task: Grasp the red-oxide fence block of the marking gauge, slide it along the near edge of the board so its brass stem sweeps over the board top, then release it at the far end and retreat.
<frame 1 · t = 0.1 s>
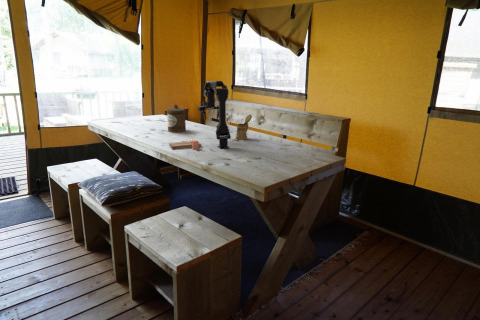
hand: (211, 119, 251), 15 cm above the table, fingers open, 9 cm apart
gauge: (195, 148, 226), on the table
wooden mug: (243, 138, 258), on the table
wooden container: (176, 130, 282), on the table
board: (185, 146, 231), on the table
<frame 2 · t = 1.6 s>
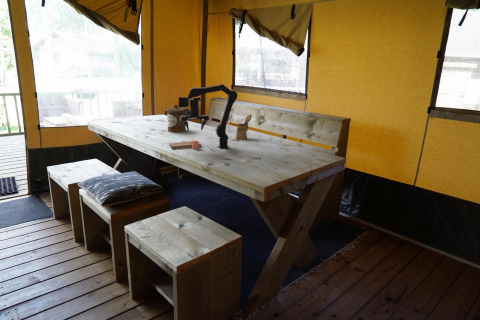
hand: (194, 130, 223), 12 cm above the table, fingers open, 9 cm apart
nothing on the table moved.
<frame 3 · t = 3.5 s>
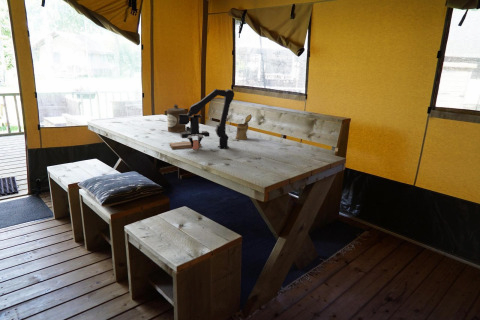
hand: (195, 147, 226), 1 cm above the table, fingers closed on gauge, 3 cm apart
gauge: (195, 148, 226), on the table, touching gripper
everything else where it was.
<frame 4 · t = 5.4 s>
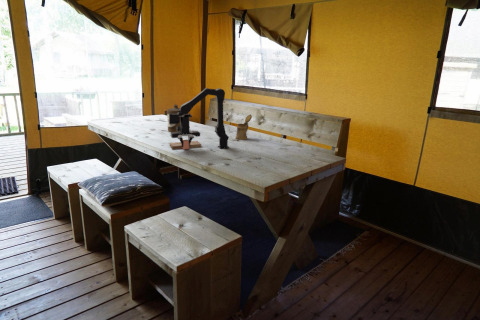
hand: (185, 146, 223), 2 cm above the table, fingers closed on gauge, 3 cm apart
gauge: (185, 148, 224), point 1 cm above the table, touching gripper
everything else where it was.
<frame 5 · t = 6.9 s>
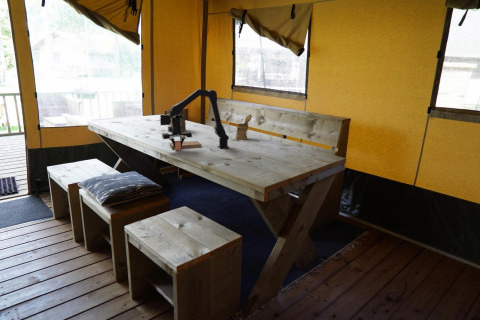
hand: (177, 147, 221), 1 cm above the table, fingers closed on gauge, 3 cm apart
gauge: (177, 149, 222), on the table, touching gripper
everything else where it was.
when the fingers open (1 cm above the table, at t = 7.6 s): gauge stays where it is, on the table.
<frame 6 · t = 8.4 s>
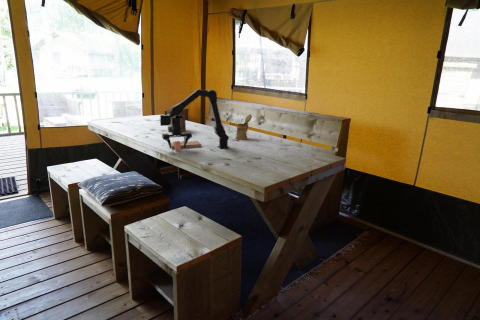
hand: (177, 148, 221), 1 cm above the table, fingers open, 9 cm apart
gauge: (177, 150, 222), on the table
everything else where it was.
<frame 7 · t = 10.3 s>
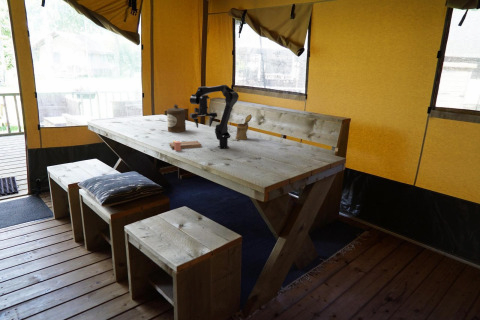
hand: (203, 127, 236), 12 cm above the table, fingers open, 9 cm apart
nothing on the table moved.
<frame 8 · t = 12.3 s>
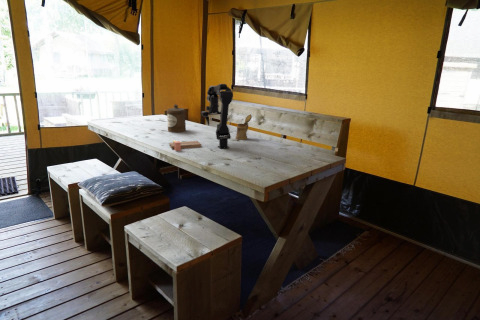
hand: (214, 125, 244), 12 cm above the table, fingers open, 9 cm apart
nothing on the table moved.
at the end: gauge inside the target area (0.2 cm from its centre), on the table; gauge tilted 0°; the gripper is holding nothing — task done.
